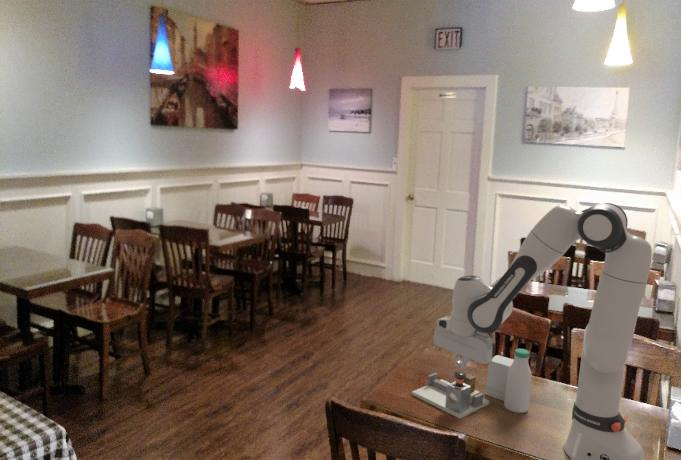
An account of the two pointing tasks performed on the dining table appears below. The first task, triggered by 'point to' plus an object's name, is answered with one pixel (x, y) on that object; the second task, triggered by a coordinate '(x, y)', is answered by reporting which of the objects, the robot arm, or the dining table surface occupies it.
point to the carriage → (471, 382)
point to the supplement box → (498, 376)
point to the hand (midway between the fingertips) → (460, 367)
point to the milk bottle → (518, 383)
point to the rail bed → (437, 396)
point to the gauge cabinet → (458, 397)
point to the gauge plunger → (459, 379)
